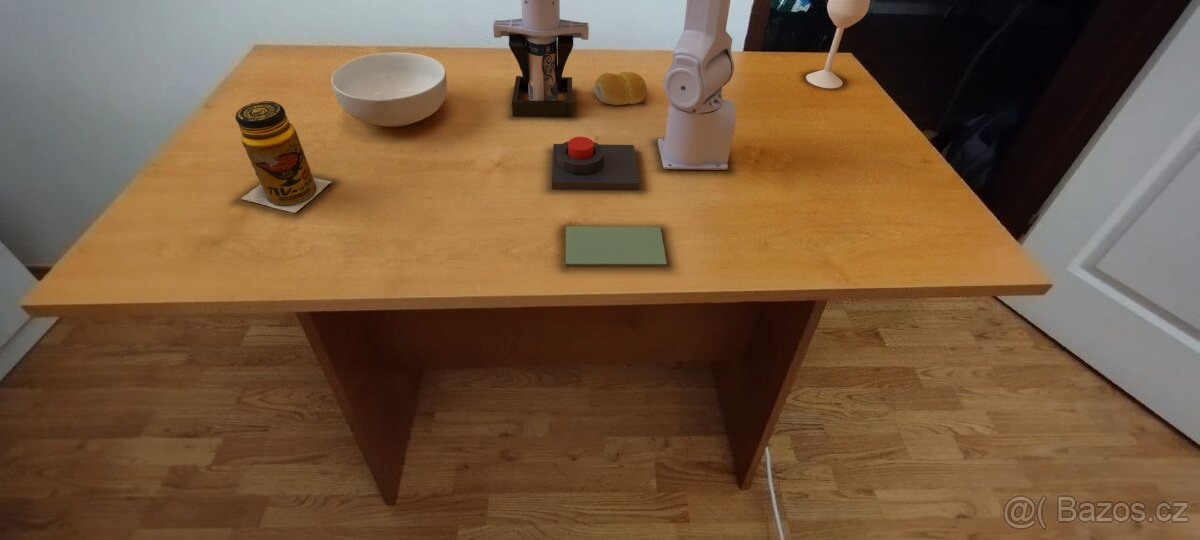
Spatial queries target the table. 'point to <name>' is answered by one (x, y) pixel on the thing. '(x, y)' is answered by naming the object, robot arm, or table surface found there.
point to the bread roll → (620, 88)
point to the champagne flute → (838, 37)
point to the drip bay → (542, 107)
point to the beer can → (542, 67)
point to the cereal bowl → (390, 88)
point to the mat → (614, 246)
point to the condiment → (276, 158)
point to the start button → (580, 148)
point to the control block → (596, 168)
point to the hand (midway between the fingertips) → (543, 81)
